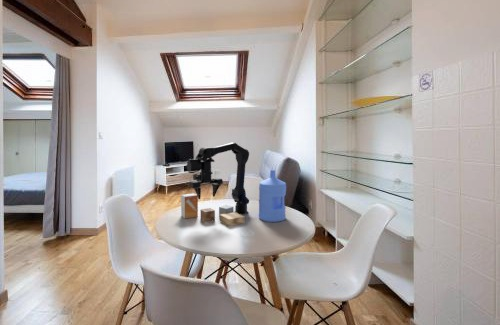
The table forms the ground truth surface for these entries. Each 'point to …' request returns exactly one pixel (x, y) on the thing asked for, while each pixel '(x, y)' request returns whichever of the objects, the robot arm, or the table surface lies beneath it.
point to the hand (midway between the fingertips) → (206, 197)
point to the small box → (189, 205)
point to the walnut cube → (207, 215)
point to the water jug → (272, 199)
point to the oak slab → (231, 218)
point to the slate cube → (225, 209)
